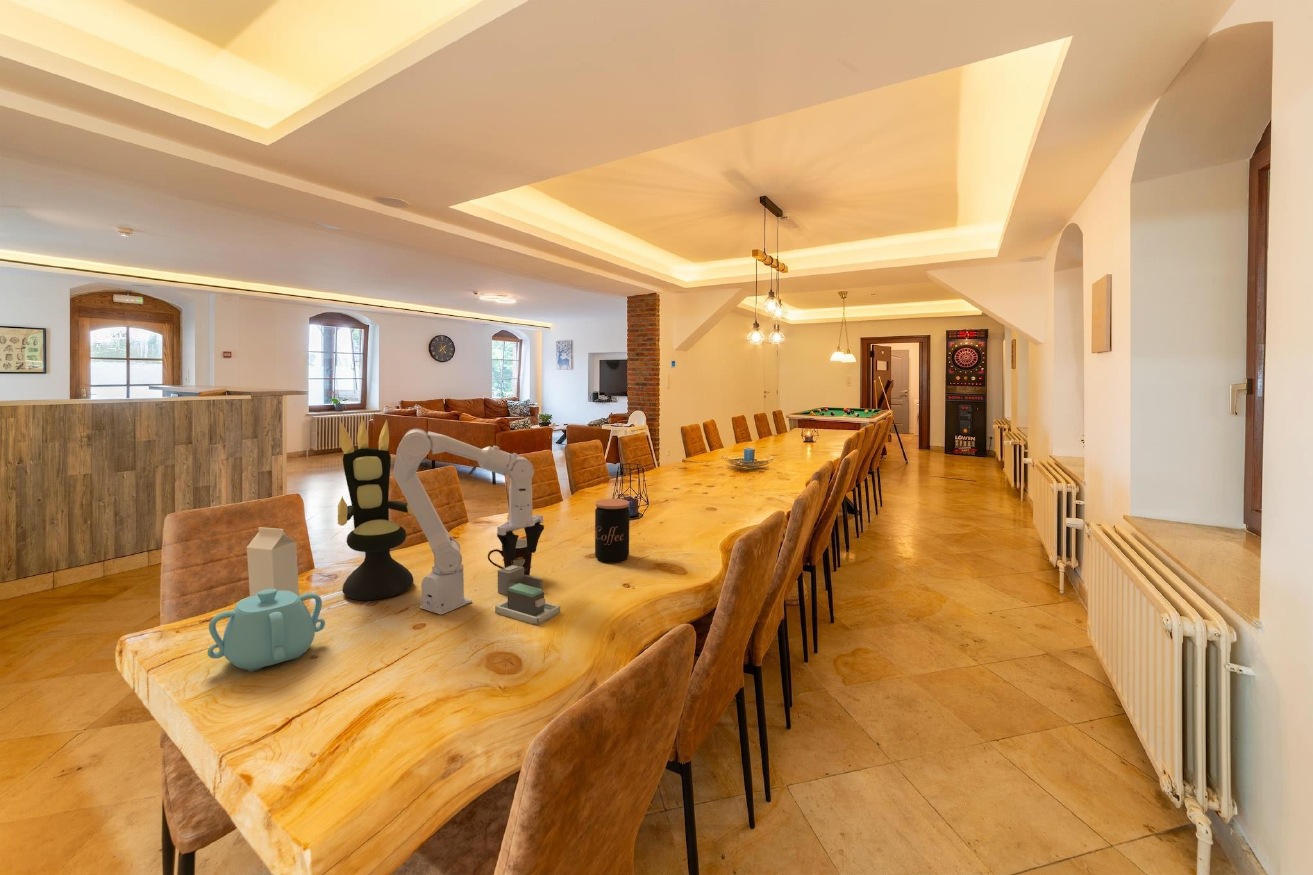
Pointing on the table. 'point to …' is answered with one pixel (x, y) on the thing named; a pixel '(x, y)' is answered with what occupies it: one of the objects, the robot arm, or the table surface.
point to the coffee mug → (516, 556)
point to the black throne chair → (372, 519)
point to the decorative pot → (266, 629)
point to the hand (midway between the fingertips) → (521, 555)
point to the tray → (548, 613)
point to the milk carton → (272, 562)
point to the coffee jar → (612, 530)
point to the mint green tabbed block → (526, 599)
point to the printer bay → (515, 579)
